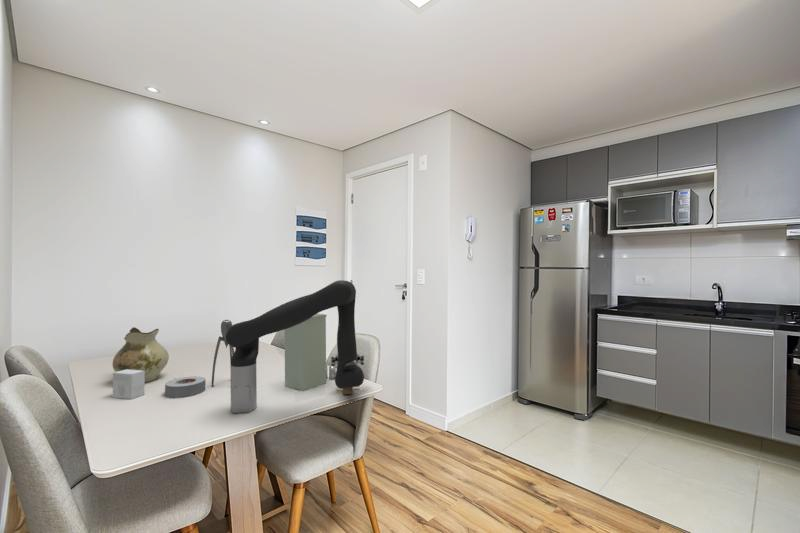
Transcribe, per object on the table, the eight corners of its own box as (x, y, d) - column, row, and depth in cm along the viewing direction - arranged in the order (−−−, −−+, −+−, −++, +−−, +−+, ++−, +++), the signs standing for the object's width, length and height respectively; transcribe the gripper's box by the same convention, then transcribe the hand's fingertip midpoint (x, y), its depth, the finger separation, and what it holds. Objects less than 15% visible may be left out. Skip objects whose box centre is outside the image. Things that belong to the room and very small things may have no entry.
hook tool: (363, 393, 160) (363, 385, 160) (342, 394, 158) (342, 386, 158) (360, 375, 185) (360, 368, 185) (342, 376, 184) (342, 369, 184)
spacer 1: (327, 378, 183) (327, 366, 183) (320, 379, 182) (320, 366, 182) (327, 376, 186) (327, 364, 186) (321, 377, 185) (320, 365, 185)
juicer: (211, 386, 172) (210, 320, 172) (232, 380, 181) (231, 317, 181) (225, 390, 167) (225, 322, 167) (246, 383, 177) (246, 319, 177)
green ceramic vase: (148, 387, 171) (148, 332, 171) (97, 387, 172) (97, 332, 172) (178, 373, 194) (178, 324, 194) (133, 374, 194) (132, 325, 194)
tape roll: (193, 385, 175) (192, 374, 175) (212, 390, 167) (212, 378, 167) (157, 394, 162) (157, 382, 162) (177, 401, 154) (177, 388, 154)
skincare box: (145, 394, 162) (145, 370, 162) (131, 399, 156) (131, 374, 156) (126, 392, 165) (126, 368, 165) (112, 397, 158) (111, 372, 158)
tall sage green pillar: (327, 382, 176) (326, 314, 176) (302, 391, 164) (301, 318, 164) (309, 378, 184) (308, 312, 183) (283, 386, 172) (283, 316, 172)
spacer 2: (335, 379, 181) (335, 367, 181) (329, 379, 181) (328, 367, 181) (335, 377, 185) (335, 365, 185) (329, 377, 184) (329, 365, 184)
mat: (359, 389, 166) (359, 388, 166) (336, 391, 164) (336, 389, 164) (357, 379, 182) (357, 377, 182) (336, 380, 180) (336, 379, 180)
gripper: (365, 356, 157) (363, 347, 173) (330, 357, 154) (331, 349, 170) (365, 374, 157) (363, 364, 173) (330, 376, 154) (331, 365, 170)
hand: (347, 356), depth 171 cm, fingers open, 8 cm apart
